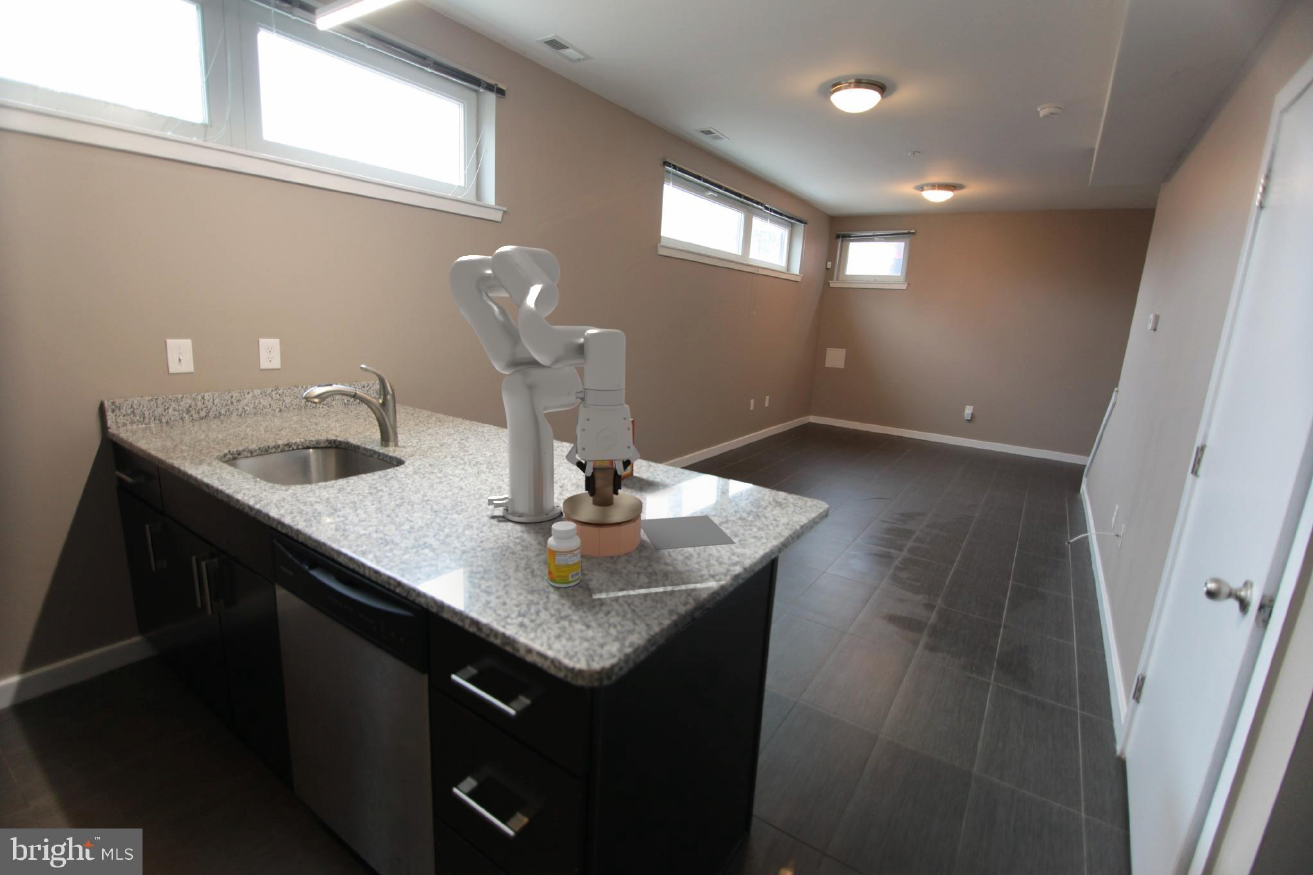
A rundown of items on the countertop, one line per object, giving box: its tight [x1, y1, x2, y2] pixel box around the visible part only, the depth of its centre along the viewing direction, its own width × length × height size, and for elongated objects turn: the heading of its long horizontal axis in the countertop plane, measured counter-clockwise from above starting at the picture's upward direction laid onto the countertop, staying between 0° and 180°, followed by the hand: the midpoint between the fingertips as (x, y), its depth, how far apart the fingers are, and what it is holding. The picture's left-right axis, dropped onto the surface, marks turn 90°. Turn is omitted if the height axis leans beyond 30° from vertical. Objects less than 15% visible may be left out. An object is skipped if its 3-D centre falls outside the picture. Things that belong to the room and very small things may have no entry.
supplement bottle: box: [546, 520, 582, 588], centre depth 96 cm, size 5×5×10 cm
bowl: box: [564, 513, 642, 558], centre depth 112 cm, size 14×14×6 cm
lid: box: [562, 465, 644, 523], centre depth 110 cm, size 15×15×8 cm
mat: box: [641, 514, 736, 551], centre depth 119 cm, size 16×16×1 cm
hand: (603, 492), depth 111 cm, fingers closed on lid, 4 cm apart
